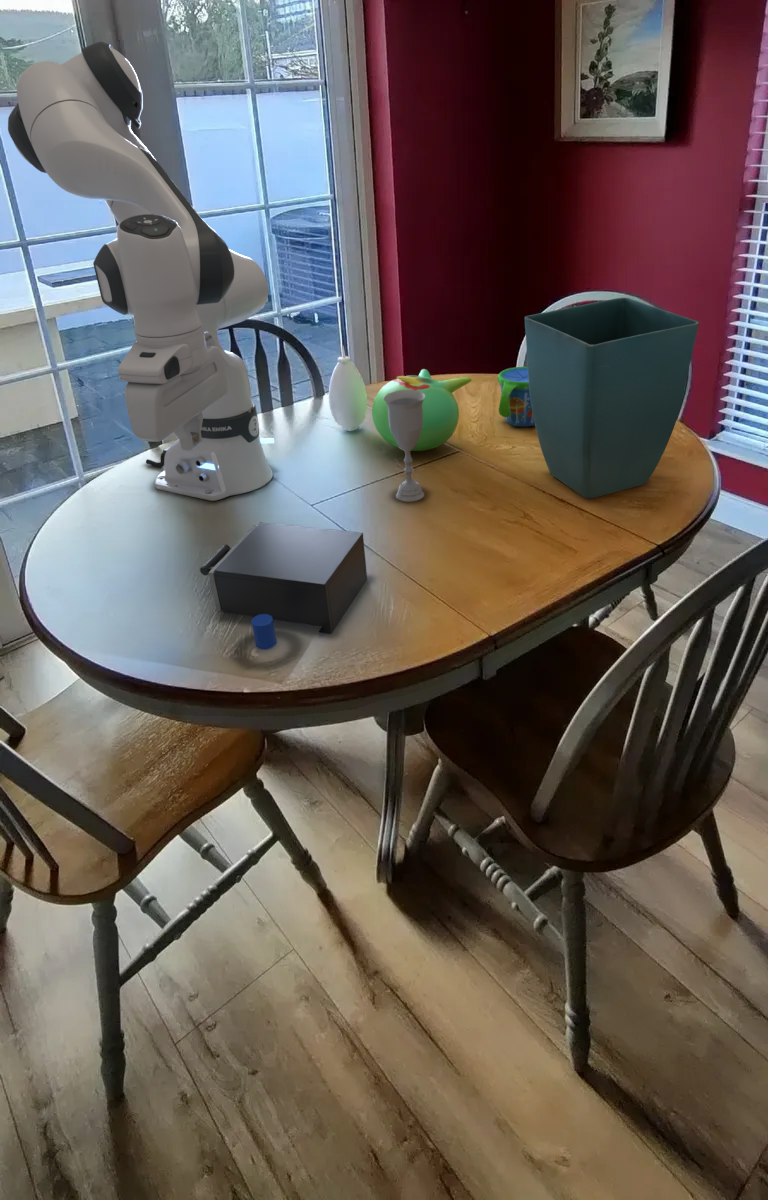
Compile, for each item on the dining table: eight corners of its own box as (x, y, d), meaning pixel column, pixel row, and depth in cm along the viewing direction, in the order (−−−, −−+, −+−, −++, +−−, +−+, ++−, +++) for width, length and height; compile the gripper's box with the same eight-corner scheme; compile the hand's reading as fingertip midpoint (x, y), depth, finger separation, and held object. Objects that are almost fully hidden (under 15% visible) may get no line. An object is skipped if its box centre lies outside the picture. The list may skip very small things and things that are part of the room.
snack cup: (526, 405, 181) (527, 359, 175) (566, 415, 174) (569, 368, 169) (479, 427, 172) (479, 379, 166) (520, 439, 165) (521, 389, 160)
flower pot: (578, 515, 137) (590, 343, 121) (518, 471, 152) (522, 315, 137) (679, 489, 142) (702, 322, 127) (611, 449, 158) (624, 296, 143)
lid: (254, 629, 115) (249, 600, 112) (304, 637, 113) (300, 607, 110) (228, 662, 109) (222, 632, 106) (281, 670, 107) (275, 640, 104)
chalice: (425, 504, 144) (421, 405, 134) (387, 503, 145) (380, 404, 135) (431, 486, 150) (428, 389, 140) (395, 485, 151) (388, 389, 141)
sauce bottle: (347, 420, 181) (339, 337, 171) (376, 426, 177) (369, 341, 167) (325, 432, 175) (315, 347, 166) (354, 438, 171) (346, 352, 162)
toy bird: (359, 444, 169) (353, 373, 161) (425, 422, 176) (421, 354, 168) (412, 471, 156) (408, 395, 148) (480, 446, 164) (480, 373, 156)
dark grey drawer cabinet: (223, 618, 118) (213, 570, 114) (268, 567, 129) (260, 521, 125) (331, 634, 113) (324, 584, 108) (367, 579, 124) (363, 532, 120)
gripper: (191, 327, 119) (208, 418, 127) (109, 373, 103) (134, 474, 111) (230, 328, 117) (245, 421, 125) (152, 375, 102) (174, 478, 109)
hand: (192, 446), depth 118 cm, fingers closed
